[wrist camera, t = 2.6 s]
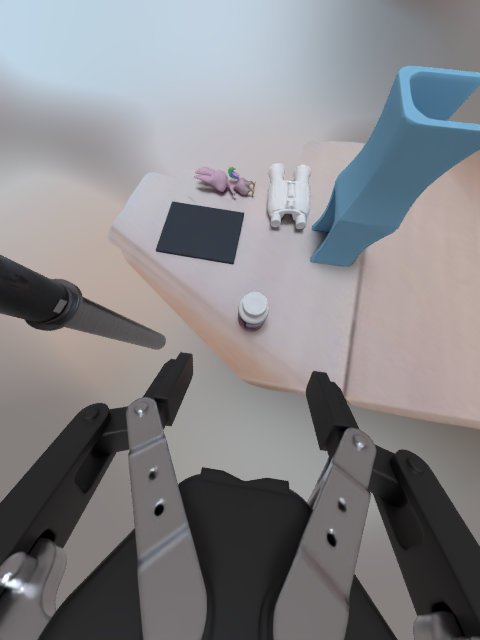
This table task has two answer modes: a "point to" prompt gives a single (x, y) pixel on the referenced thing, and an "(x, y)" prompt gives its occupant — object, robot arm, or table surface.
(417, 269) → the table surface
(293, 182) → the binoculars
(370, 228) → the vase
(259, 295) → the pill bottle
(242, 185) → the pink figurine
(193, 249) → the mat
